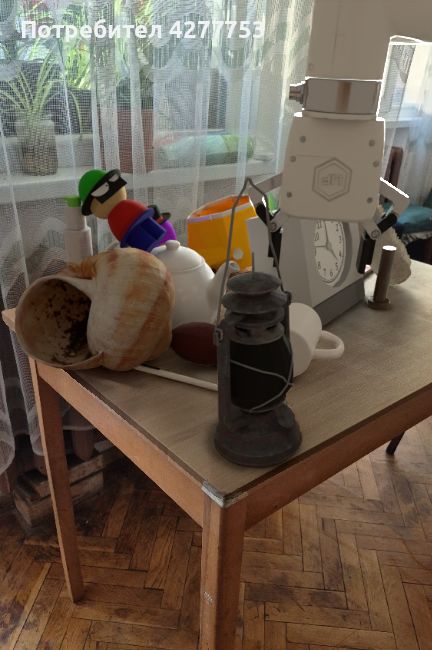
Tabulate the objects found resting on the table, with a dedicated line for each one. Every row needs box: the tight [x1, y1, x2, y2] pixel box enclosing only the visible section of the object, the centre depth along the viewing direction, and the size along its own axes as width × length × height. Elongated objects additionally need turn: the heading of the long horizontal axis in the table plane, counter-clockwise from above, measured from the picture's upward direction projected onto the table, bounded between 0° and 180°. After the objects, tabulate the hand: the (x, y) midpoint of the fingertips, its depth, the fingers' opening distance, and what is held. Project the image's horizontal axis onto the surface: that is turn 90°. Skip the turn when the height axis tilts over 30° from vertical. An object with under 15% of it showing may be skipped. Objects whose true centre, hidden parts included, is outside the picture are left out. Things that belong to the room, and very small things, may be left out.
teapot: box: [105, 238, 241, 330], centre depth 92 cm, size 19×18×14 cm
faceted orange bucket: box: [186, 192, 278, 272], centre depth 115 cm, size 14×26×16 cm, turn 108°
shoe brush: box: [358, 196, 412, 286], centre depth 107 cm, size 24×8×5 cm
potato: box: [169, 322, 217, 366], centre depth 80 cm, size 7×10×6 cm
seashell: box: [14, 247, 175, 372], centre depth 78 cm, size 21×20×15 cm
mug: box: [289, 303, 345, 378], centre depth 80 cm, size 12×10×8 cm
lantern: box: [213, 177, 303, 467], centre depth 58 cm, size 12×11×30 cm
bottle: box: [60, 194, 94, 264], centre depth 90 cm, size 4×4×20 cm
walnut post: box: [366, 246, 396, 311], centre depth 101 cm, size 4×4×11 cm
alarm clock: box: [246, 210, 366, 328], centre depth 98 cm, size 20×16×20 cm
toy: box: [77, 168, 167, 253], centre depth 85 cm, size 9×9×15 cm
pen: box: [132, 363, 218, 392], centre depth 76 cm, size 1×19×1 cm, turn 65°
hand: (317, 267), depth 63 cm, fingers open, 9 cm apart
